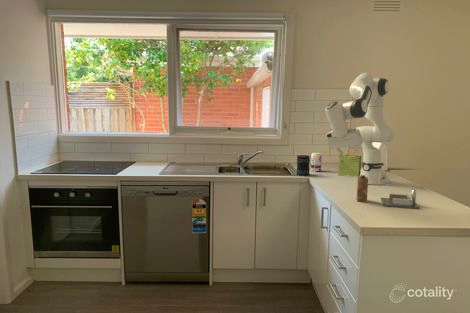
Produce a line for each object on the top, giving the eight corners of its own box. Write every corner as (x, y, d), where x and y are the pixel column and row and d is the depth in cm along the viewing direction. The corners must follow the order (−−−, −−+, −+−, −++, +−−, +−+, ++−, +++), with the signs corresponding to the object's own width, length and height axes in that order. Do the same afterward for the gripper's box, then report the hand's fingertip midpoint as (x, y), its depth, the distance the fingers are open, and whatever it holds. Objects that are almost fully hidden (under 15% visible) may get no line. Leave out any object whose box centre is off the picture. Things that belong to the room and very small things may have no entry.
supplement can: (322, 170, 262) (322, 152, 260) (319, 172, 255) (320, 154, 253) (312, 169, 266) (313, 152, 264) (309, 171, 259) (310, 153, 257)
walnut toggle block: (357, 201, 174) (358, 176, 172) (356, 199, 179) (357, 174, 177) (366, 202, 173) (368, 176, 170) (365, 199, 177) (367, 175, 175)
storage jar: (294, 175, 244) (295, 156, 242) (298, 173, 252) (298, 154, 250) (307, 176, 239) (308, 157, 237) (310, 174, 248) (311, 155, 246)
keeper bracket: (384, 206, 165) (385, 191, 164) (380, 199, 178) (381, 185, 177) (419, 209, 160) (420, 193, 159) (412, 201, 173) (413, 187, 172)
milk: (365, 169, 269) (367, 138, 266) (375, 167, 274) (377, 138, 270) (377, 171, 259) (379, 139, 255) (387, 170, 263) (389, 139, 260)
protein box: (358, 177, 237) (359, 156, 235) (337, 175, 245) (338, 155, 242) (360, 174, 246) (361, 154, 244) (340, 172, 254) (341, 153, 251)
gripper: (360, 125, 168) (369, 148, 171) (328, 131, 184) (336, 152, 187) (355, 130, 164) (364, 153, 167) (322, 135, 180) (331, 157, 183)
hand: (349, 153), depth 177 cm, fingers open, 8 cm apart
